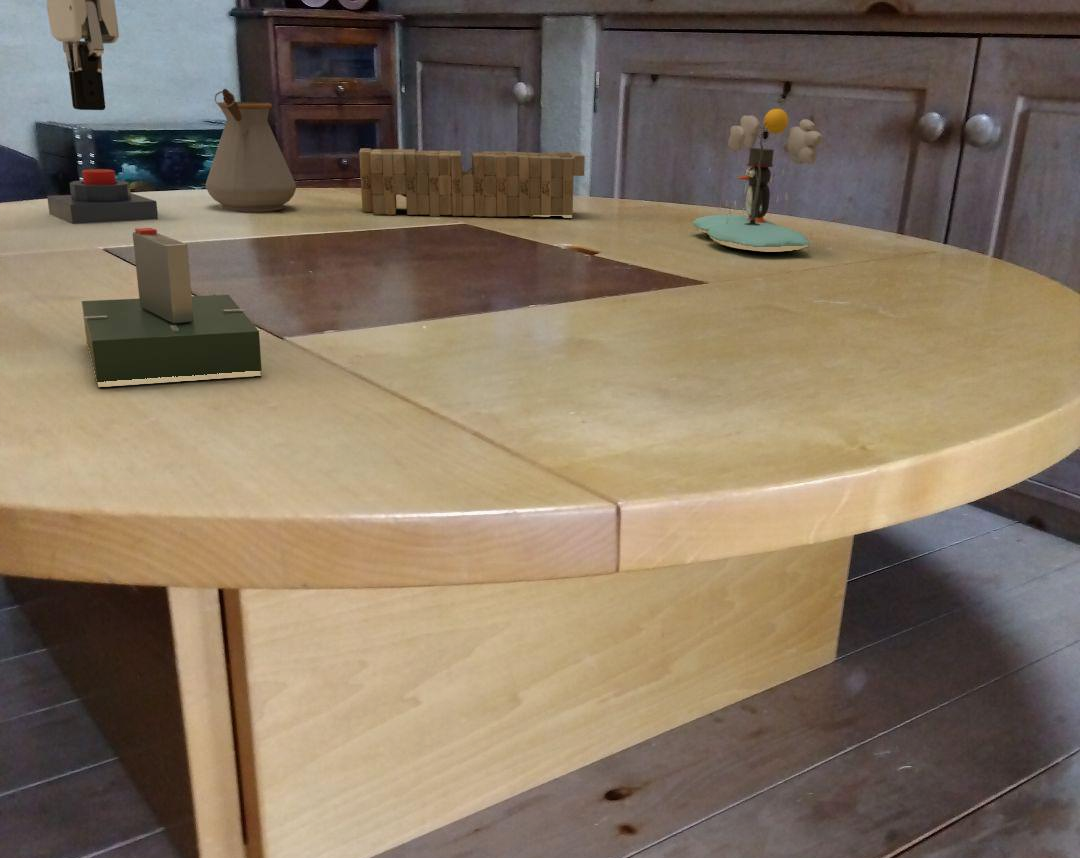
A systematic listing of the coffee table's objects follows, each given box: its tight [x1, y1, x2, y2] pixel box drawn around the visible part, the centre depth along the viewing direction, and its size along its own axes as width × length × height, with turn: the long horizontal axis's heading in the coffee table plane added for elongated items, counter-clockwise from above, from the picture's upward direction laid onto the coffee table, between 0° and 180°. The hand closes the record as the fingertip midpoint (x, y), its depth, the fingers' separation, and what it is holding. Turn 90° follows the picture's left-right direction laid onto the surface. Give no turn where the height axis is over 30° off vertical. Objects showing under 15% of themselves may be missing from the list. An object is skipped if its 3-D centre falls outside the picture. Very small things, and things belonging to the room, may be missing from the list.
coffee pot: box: [205, 88, 297, 213], centre depth 140 cm, size 21×12×15 cm, turn 5°
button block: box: [46, 179, 159, 225], centre depth 134 cm, size 10×9×4 cm
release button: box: [81, 168, 117, 185], centre depth 133 cm, size 4×4×2 cm
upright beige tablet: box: [132, 227, 194, 324], centre depth 74 cm, size 6×1×5 cm, turn 38°
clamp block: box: [81, 294, 263, 383], centre depth 75 cm, size 10×12×3 cm
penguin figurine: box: [691, 108, 823, 247], centre depth 130 cm, size 20×11×15 cm, turn 6°
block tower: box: [358, 147, 586, 217], centre depth 149 cm, size 8×8×29 cm
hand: (89, 109), depth 130 cm, fingers closed
